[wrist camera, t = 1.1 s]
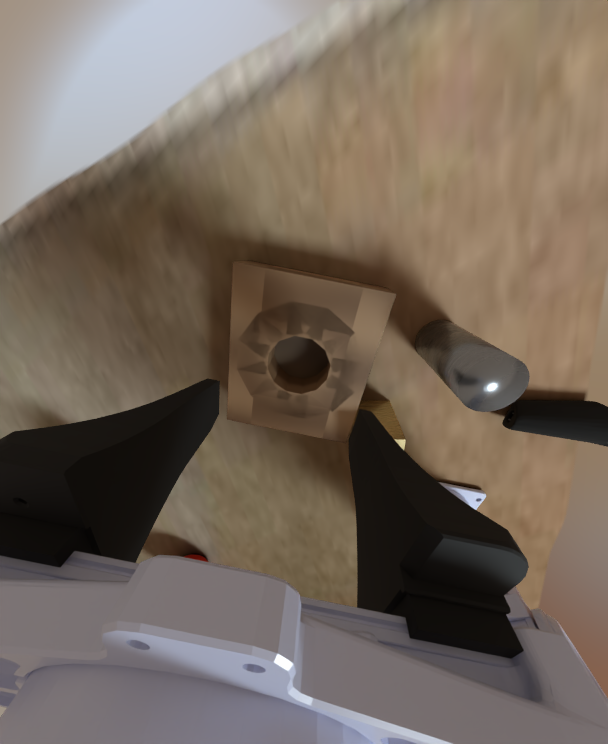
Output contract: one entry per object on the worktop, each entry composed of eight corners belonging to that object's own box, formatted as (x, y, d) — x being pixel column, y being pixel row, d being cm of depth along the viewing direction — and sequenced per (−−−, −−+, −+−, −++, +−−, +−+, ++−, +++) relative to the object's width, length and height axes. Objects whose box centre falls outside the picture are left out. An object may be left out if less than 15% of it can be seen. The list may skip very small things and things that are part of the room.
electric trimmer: (501, 383, 20) (529, 404, 17) (702, 409, 19) (766, 436, 16) (482, 419, 22) (504, 444, 19) (665, 445, 21) (717, 475, 18)
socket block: (343, 420, 22) (346, 443, 20) (239, 399, 22) (226, 419, 20) (385, 287, 17) (396, 293, 14) (247, 260, 17) (232, 261, 14)
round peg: (448, 363, 19) (506, 416, 13) (408, 355, 19) (448, 405, 13) (467, 324, 18) (543, 363, 11) (425, 316, 18) (477, 350, 11)
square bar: (386, 430, 23) (400, 474, 18) (349, 430, 23) (354, 473, 19) (389, 400, 21) (405, 439, 17) (350, 400, 22) (355, 439, 17)
